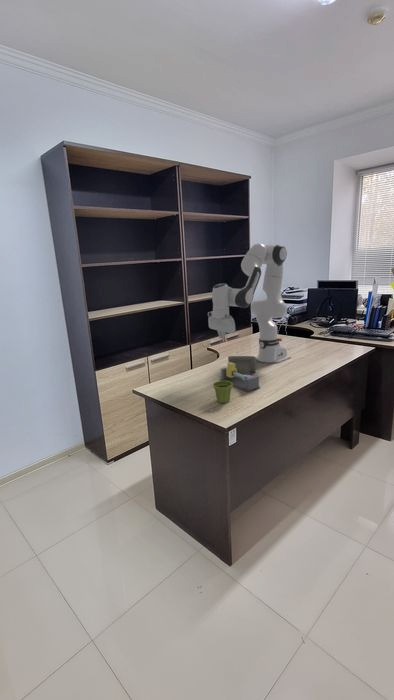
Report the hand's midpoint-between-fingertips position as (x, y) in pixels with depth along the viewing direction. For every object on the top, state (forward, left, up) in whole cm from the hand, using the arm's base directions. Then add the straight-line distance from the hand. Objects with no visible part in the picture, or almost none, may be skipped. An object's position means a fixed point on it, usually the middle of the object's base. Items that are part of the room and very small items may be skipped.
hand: (222, 338), depth 192 cm
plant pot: (+20, +26, -23) cm, 40 cm away
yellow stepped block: (0, +8, -20) cm, 21 cm away
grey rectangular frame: (0, +14, -23) cm, 27 cm away
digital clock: (-13, +1, -23) cm, 27 cm away
